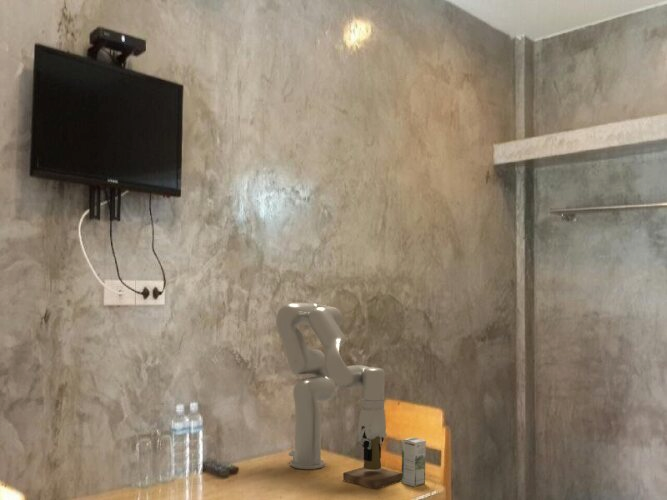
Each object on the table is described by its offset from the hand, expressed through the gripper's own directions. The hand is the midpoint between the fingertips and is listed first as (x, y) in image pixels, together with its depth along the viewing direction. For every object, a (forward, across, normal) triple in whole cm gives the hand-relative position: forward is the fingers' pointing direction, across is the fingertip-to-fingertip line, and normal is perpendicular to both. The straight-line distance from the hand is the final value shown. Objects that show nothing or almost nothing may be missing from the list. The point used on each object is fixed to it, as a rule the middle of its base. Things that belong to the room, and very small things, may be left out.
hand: (372, 458), depth 213 cm
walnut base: (+7, 0, 0) cm, 7 cm away
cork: (+3, 0, 0) cm, 3 cm away
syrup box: (+7, -7, +12) cm, 16 cm away
